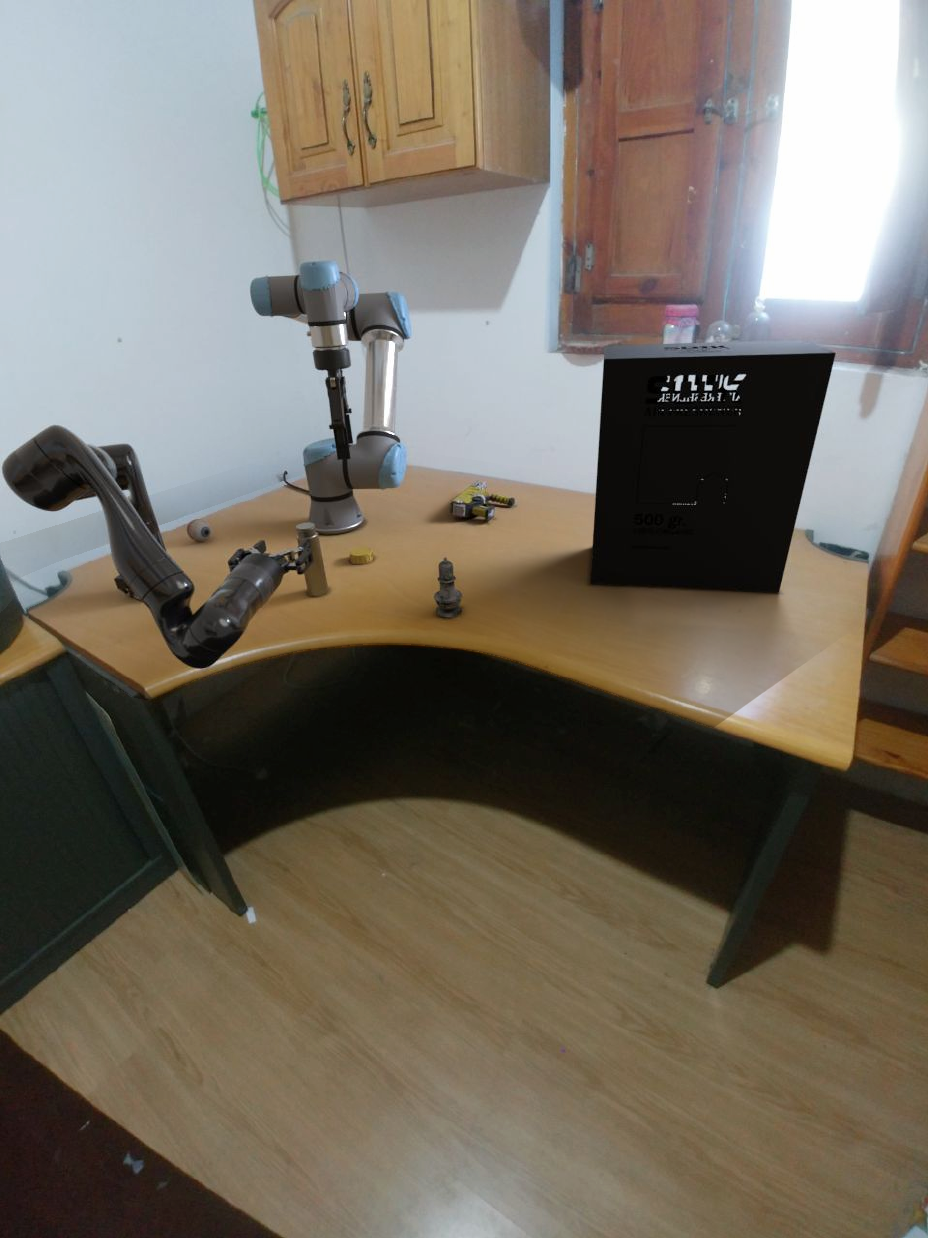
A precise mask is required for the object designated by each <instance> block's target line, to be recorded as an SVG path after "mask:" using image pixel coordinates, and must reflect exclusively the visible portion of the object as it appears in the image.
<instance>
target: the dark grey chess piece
mask: <svg viewBox="0 0 928 1238" xmlns="http://www.w3.org/2000/svg"><path fill="white" fill-rule="evenodd" d="M454 573H455V572H454V563H452V561H450V560H448V558H447V557H446V556H445V557H443V560H442V561H440V562H439V564H438V577H437V581H438V583H439V590H438V591H436V592H435V593H434V594H433V599H434V601H435V605H437V606H438V607H437V608H436V610H435V613H436V615H437V616H439V617H442V618H454V617H457V616H459V615H461V614H462V611H463V608H462V607H461V606H460V604H461V601H462V598H463V592H462V591H460V589H456V583H455V581H456V579H457V577H456V576H455V575H454Z"/></svg>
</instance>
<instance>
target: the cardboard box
mask: <svg viewBox="0 0 928 1238" xmlns="http://www.w3.org/2000/svg"><path fill="white" fill-rule="evenodd" d="M603 351H604V352H603V365H602V367H603V368H602V384H601V385H602V386H601V399H600V413H599V415H600V417H599V418H600V419H599V433H598V448H597V449H598V450H597V466H596V483H595V498H594V499H595V500H594V514H593V515H594V517H593V531H592V532H593V533H592V534H593V535H592V548H591V566H590V567H591V568H590V585H603V586H605V585H606V586H624V587H625V586H626V587H627V586H628V587H645V588H646V587H649V588H667V589H668V588H669V589H670V588H671V589H688V590H689V589H692V590H713V591H731V592H733V591H734V592H735V591H736V592H755V593H756V592H757V593H776V594H777V593H778V594H779V593H780V589H781V586H782V581H783V577H784V574H785V573H784V572H785V569H786V565H787V560H788V558H789V557H788V556H789V552H790V547H791V545H792V544H791V543H792V540H793V535H794V531H795V526H796V522H797V519H798V515H799V510H800V505H801V502H802V498H803V494H804V490H805V484H806V481H807V476H808V472H809V468H810V463H811V459H812V455H813V452H814V448H815V441H816V439H817V434H818V430H819V425H820V420H821V417H822V413H823V409H824V406H825V405H824V404H825V401H826V396H827V392H828V388H829V383H830V380H831V375H832V371H833V367H834V363H835V358H836V354H837V353H836V352H835V351H833V350H830V349H828V348H826V347H823V346H821V345H818V344H815V343H813V342H811V341H808V340H806V339H804V338H803V339H774V340H745V341H744V340H742V341H718V342H717V341H714V342H713V341H711V342H708V341H707V342H684V343H683V342H682V343H681V342H680V343H679V342H678V343H649V344H647V343H646V344H619V345H617V344H616V345H604V349H603ZM740 375H742V376H743V375H745V376H744V377H743V378H742V379H737V378H738V376H740ZM680 376H682V380H681V382H680V388H679V390H676V386H677V380H676V379H677V377H680ZM690 376H694V383H693V382H692V381H693V380H689V379H690ZM704 376H706V380H703V378H704ZM721 378H722V379H721ZM726 378H727V382H726V386H727V387H731V386H737V387H736V388H735V389H726V388H725V381H726ZM720 384H721V385H720ZM693 386H696V389H692V387H693ZM706 386H711V389H709V390H708V389H705V388H706ZM663 388H667V390H663Z"/></svg>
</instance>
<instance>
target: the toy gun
mask: <svg viewBox="0 0 928 1238" xmlns="http://www.w3.org/2000/svg"><path fill="white" fill-rule="evenodd" d="M486 487H487V482H486V481H485V480H483V481H482V482H481V480H477V481H476V482H474V483H473V484H472V485H469V486H468V487H467V488H466V489H465V490H463V491H462V492H461V493H460V494H459V495H457V496H456V497H455V498H454V499H453V500H451V502H450V503H449V504H450V505H449V513H450V515H451V516H454V518H458V519H459V518H460V519H461V518H471V517H474V516H477V517H481V518H485V521H487V522H488V521H490V520H491V519H493V518H494V517H495V511H496V509H495V508H496V507H495V506H494V505H492V504H491V505H490V506H489V505H488V504H487V503H489V502H490V501H491V502H492V503H499V504H502V505H507V506H508V507H513V506H514V505H515V503H516V499H515V498H514V497H511V496H509V497H508V496H506V495H505V496H504V495H501V494H497V493H491V495H490V494H489V492H488V491H487V489H485V488H486Z"/></svg>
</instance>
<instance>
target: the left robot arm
mask: <svg viewBox="0 0 928 1238" xmlns="http://www.w3.org/2000/svg"><path fill="white" fill-rule="evenodd" d="M1 473H2V477H3V479H4V481H5V483H6V485H7V487H8V488H9V489H10V490H11V491H12V492H13V494H14V495H15V496H17V497H18V498H19V499H20V500H22V501H23V502H24V503H26V504H27V505H30V506H32V507H34V508H36V509H39V510H40V511H41V510H42V511H45V512H58V511H62V510H63V509H65V508H67V507H68V506H69V505H71V504H72V503H74V502H76V501H81V500H86V499H93V498H97V499H98V501H99V503H100V507H101V508H102V511H103V515H104V519H105V522H106V528H107V535H108V541H109V547H110V553H111V558H112V561H113V564H114V567H115V570H116V571H117V573H118V575H117V576H115V577H114V578H113V580H114V583H115V585H116V588H117V590H120V591H121V592H122V593H124V594H125V595H128V594H129V597H130V598H131V599H132V598H134V599H135V600H137V601H140V602H142V603H143V604H144V605H145V606H146V607H147V609H148V610H149V611H150V613H151V616H152V618H153V620H154V623H155V625H156V627H157V628H158V630H159V632H160V634H161V636H162V638H163V640H164V642H165V644H166V645H167V647H168V649H169V650H170V652H171V653H172V655H173V656H174V657H175V658H176V659H177V660H178V661H179V662H181V663H182V664H184V665H186V666H187V667H190V668H193V669H198V670H203V669H207V668H210V667H212V666H213V665H214V664H215V663H216V662H217V661H219V659H221V658H222V657H223V656H224V655H225V654H226V653H227V652H228V651H229V650H230V649H231V648H232V647H233V646H234V645H235V644H236V643H237V642H238V641H239V640H240V639H241V637H242V636H243V635H244V633H245V632H246V630H247V629H248V628H247V627H248V626H249V624H250V621H251V620H252V619H254V617H255V615H256V614H257V613H258V612H259V610H260V609H262V608H263V607H264V606H265V605H266V604H267V602H268V601H269V599H270V598H271V597H272V596H273V594H274V593H275V592H276V591H277V589H279V587H280V585H281V583H282V581H283V578H284V576H285V575H286V574H288V573H289V572H290V571H295V572H296V574H297V575H299V576H301V575H304V573H305V571H306V570H307V569H308V568H309V567H310V566H311V564H312V563H313V562H314V559H313V554H312V549H310V545H309V543H308V541H307V540H303V541H302V542H301V543H300V545H299V546H297V547H295V548H293V549H289V548H287V549H283V550H281V551H278V552H273V553H271V552H269V553H268V552H267V544H266V540H265V539H260V540H259V541H258V542H255V544H254V545H253V546H250V547H248V548H247V549H246V550H245V549H244V548H238V549H237V550H236V551H235V552H234V553H233V554H232V555H231V557H230V558H229V559H228V560H227V565H228V568H229V569H228V570H229V573H228V575H226V577H225V579H224V580H223V582H222V583H221V584H220V585H219V586H218V587H217V588H216V589H215V591H214V592H213V593H212V594H211V596H210V597H209V598H208V599H207V600H206V601H205V602H204V603H203V604H202V605H201V606H199V608H198V609H197V610H196V611H195V612H194V613H193V610H192V608H191V601H192V598H193V596H194V594H195V590H196V588H195V587H196V586H195V584H194V582H193V581H192V579H191V578H190V577H189V576H188V574H186V572H185V571H184V570H183V569H182V568H181V566H179V565H178V564H177V562H176V561H175V560H174V559H173V558H172V556H171V555H170V554H169V553H168V551H167V548H166V545H165V543H164V539H163V536H162V533H161V529H160V527H159V524H158V522H157V517H156V514H155V512H154V509H153V505H152V502H151V499H150V497H149V492H148V489H147V486H146V483H145V478H144V475H143V470H142V468H141V463H140V460H139V457H138V454H137V452H136V451H135V448H133V446H132V445H131V444H129V443H126V442H125V443H124V442H123V443H115V444H114V443H113V444H107V445H106V444H105V445H98V446H96V445H94V444H90V443H86V442H85V441H84V440H83V439H82V438H81V437H79V436H78V435H77V434H76V433H75V432H73V431H71V430H70V429H68V428H67V427H65V426H63V425H60V424H52V425H49V426H48V427H46V428H44V429H43V430H41V431H40V432H38V433H37V434H36V435H34V436H33V437H31V438H30V439H28V440H27V441H25V443H23V444H22V445H20V446H19V447H18V448H16V449H15V450H13V451H12V452H11V453H9V454H8V455H7V456H6V458H5V459H4V461H3V462H2V466H1ZM124 491H128V492H129V495H128V496H127V495H126V494H125V493H124ZM295 555H297V557H295ZM286 556H287V558H286Z"/></svg>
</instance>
